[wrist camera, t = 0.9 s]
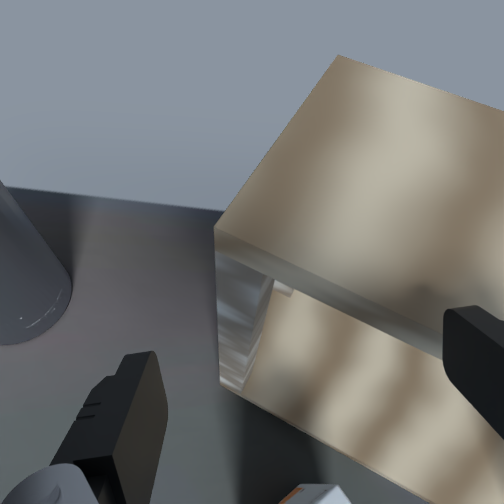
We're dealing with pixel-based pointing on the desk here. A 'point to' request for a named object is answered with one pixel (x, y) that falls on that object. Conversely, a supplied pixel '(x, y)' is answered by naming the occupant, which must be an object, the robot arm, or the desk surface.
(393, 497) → the desk surface
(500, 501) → the oak counter shelf
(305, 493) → the skincare box
